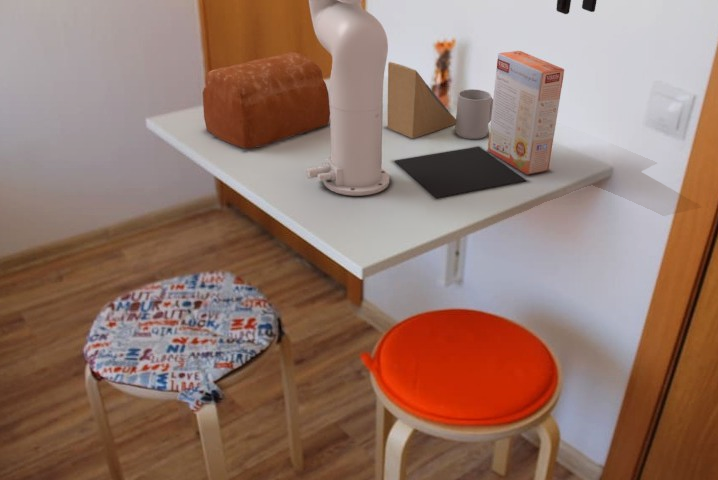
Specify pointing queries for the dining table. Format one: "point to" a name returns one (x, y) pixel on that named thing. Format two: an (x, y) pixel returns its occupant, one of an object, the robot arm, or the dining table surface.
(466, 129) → the cup
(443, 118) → the sandwich container
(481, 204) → the dining table surface
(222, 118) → the bread
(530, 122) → the cracker box
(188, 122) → the dining table surface
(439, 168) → the mat
